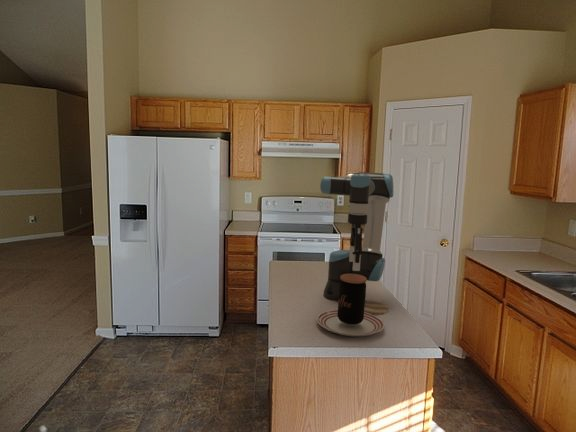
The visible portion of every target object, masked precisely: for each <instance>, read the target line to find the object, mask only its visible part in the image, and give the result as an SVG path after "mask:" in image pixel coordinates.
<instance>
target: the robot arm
mask: <svg viewBox="0 0 576 432" xmlns="http://www.w3.org/2000/svg"><path fill="white" fill-rule="evenodd" d="M319 184H320V185H319V186H320V188H319V189H320V192H321V193H322V194H324V195H337V196H347V197H348V196H349V198H348V199H349V200H348V202H349V204H347V205H346V207H347V208H348V214H347V215H348V216H347V223H348V224H351V229H350V230H351V232H350V239H349V245H350V246H349V249H339V250H338V249H337V250H334V251H332V252H330V253H329V259H328V275H327V282H326V284H325V286H324V289H323V294H322V295H323V297H325V298H326V299H328V300H331V301H335V302H338V301H339V287H340V281H341V279H340V276H341V275H343V274H358V275H362V276H364V277H366V278H367V281H368V282H379V281H380V280H381V278H382V276H383V273H384V269H385V264H386V259H385V257H383V253H382V252H381V245H382V237H383V229H384V221H385V214H386V205H387V203H389V202H390V200H391V199H392V198H393V197H394V178H393V175H392V174H390V173H385V172H381V173H380V172H364V171H362V172H361V171H359V172H353V173H347V174H346V175H343V176H341V175H340V176H330V175H329V176H327V175H325V176H323V177H321V180H320V183H319ZM390 198H391V199H390ZM363 225H365V226H364V228H362V226H363ZM363 229H364V232H363Z"/></svg>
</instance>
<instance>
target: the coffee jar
mask: <svg viewBox="0 0 576 432" xmlns="http://www.w3.org/2000/svg"><path fill="white" fill-rule="evenodd" d="M340 279H341V281H340V287H339V301H337V302H338V303H337V304H338V305H337V310H338V315H337V316H338V318H339V320H340V321H341V322H343V323H346V324H359V323H361V322H362V321H363V319H364V307H365V301H366V296H367V295H366V294H367V293H366V291H367V283H366V282H367V281H368V280H367V278H366V277H364V276H362V275H358V274H343V275H341V276H340Z"/></svg>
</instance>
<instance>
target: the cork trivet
mask: <svg viewBox="0 0 576 432" xmlns="http://www.w3.org/2000/svg"><path fill="white" fill-rule="evenodd" d="M364 312H366V313H369V314H381V315H385V314H387V313H388V312H389V307H388V306H387V305H385V304H383V303H381V302H376V301H371V300H370V301H369V300H365V307H364ZM386 312H387V313H386ZM384 313H385V314H384Z"/></svg>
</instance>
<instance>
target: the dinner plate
mask: <svg viewBox="0 0 576 432" xmlns="http://www.w3.org/2000/svg"><path fill="white" fill-rule="evenodd" d="M337 315H338V309H331V310H330V309H329V310H326V311H323V312H321V313H319V314H318V315H317V317H316V322H317V324H319V326H321V327H322V328H323V329H325V330H327V331H329V332H330V333H334V334H338V335H341V336H347V337H366V336H372V335H374V334H378V333H379V332H381V331H383V330H384V328H385V323H384V320H382V319H381V318H380V317H378V316H376V315H372V314H369V313H366V312H364V319H363V321H362V322H361V323H359V324H346V323H343V322H341V321H340V320H339V318H338V316H337Z"/></svg>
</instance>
